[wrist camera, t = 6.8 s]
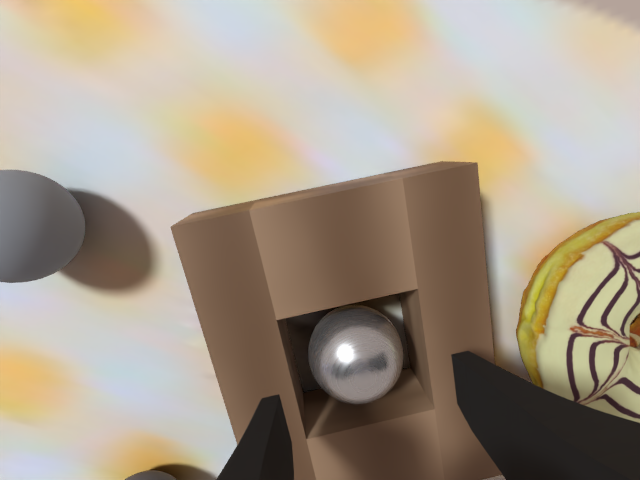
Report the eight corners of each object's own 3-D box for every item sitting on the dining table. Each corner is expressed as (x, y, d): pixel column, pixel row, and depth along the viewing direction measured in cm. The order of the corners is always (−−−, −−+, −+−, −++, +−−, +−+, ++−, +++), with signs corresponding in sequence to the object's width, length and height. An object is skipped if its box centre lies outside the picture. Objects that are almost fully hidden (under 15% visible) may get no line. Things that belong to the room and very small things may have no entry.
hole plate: (268, 473, 19) (264, 532, 16) (192, 213, 15) (170, 226, 12) (471, 425, 19) (504, 474, 16) (441, 161, 16) (477, 162, 13)
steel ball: (314, 375, 17) (323, 438, 14) (297, 301, 16) (301, 345, 13) (393, 357, 18) (424, 413, 14) (381, 282, 17) (410, 320, 13)
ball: (24, 272, 15) (-67, 312, 11) (-16, 179, 14) (-130, 187, 10) (118, 252, 15) (61, 285, 11) (85, 158, 14) (10, 159, 10)
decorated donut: (656, 401, 20) (738, 456, 16) (478, 390, 19) (525, 447, 15) (727, 220, 18) (841, 238, 14) (530, 194, 17) (599, 206, 13)
